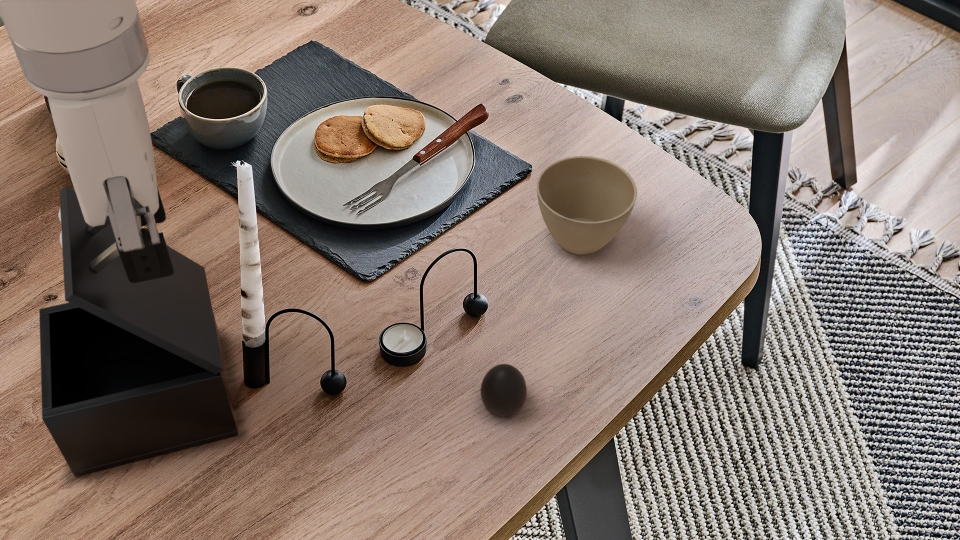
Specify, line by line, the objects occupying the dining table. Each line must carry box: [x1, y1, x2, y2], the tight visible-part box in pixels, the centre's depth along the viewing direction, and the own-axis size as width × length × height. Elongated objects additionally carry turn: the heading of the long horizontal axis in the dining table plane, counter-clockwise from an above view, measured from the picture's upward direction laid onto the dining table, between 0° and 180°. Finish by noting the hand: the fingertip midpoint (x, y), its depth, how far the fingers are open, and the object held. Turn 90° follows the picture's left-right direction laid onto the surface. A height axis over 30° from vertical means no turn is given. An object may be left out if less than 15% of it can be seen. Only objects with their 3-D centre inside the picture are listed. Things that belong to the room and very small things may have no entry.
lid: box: [59, 185, 224, 374], centre depth 73 cm, size 14×12×5 cm
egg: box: [480, 363, 528, 417], centre depth 83 cm, size 4×4×5 cm
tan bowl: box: [536, 155, 638, 256], centre depth 97 cm, size 10×10×7 cm
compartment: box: [38, 302, 240, 478], centre depth 81 cm, size 14×12×9 cm
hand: (148, 247), depth 71 cm, fingers closed on lid, 5 cm apart
